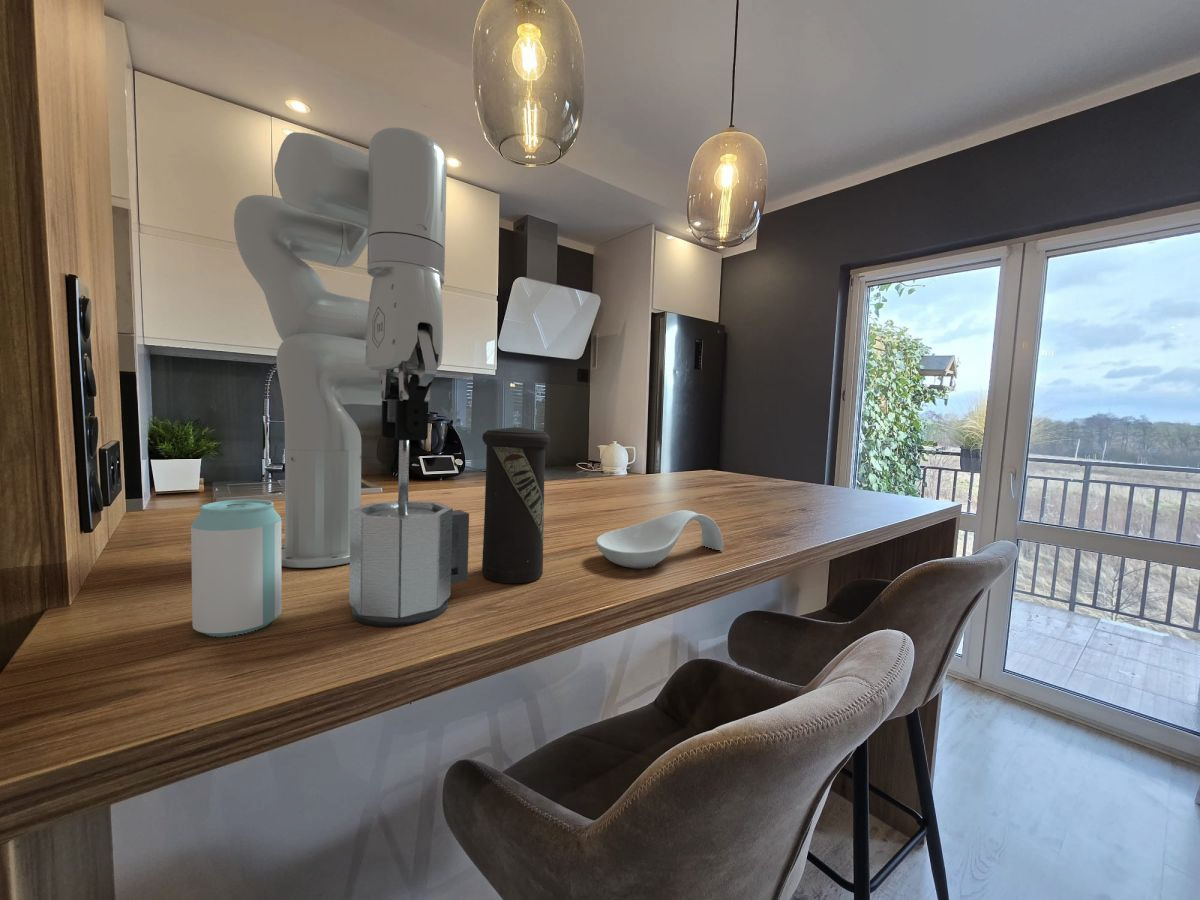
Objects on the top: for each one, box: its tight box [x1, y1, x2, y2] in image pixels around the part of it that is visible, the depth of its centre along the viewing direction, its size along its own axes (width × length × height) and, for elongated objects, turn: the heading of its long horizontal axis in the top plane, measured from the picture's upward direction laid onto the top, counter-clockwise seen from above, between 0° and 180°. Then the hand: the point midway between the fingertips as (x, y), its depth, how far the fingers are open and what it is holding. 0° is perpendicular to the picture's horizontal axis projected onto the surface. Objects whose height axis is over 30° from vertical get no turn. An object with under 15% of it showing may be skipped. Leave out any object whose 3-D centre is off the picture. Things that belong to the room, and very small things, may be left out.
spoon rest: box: [595, 509, 724, 569], centre depth 78 cm, size 24×12×7 cm, turn 126°
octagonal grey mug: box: [348, 500, 470, 628], centre depth 55 cm, size 10×12×11 cm
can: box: [190, 499, 282, 638], centre depth 48 cm, size 7×7×12 cm
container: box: [481, 427, 551, 584], centre depth 66 cm, size 9×9×20 cm
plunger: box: [369, 399, 435, 517], centre depth 53 cm, size 7×7×13 cm
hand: (404, 436), depth 53 cm, fingers closed on plunger, 3 cm apart
